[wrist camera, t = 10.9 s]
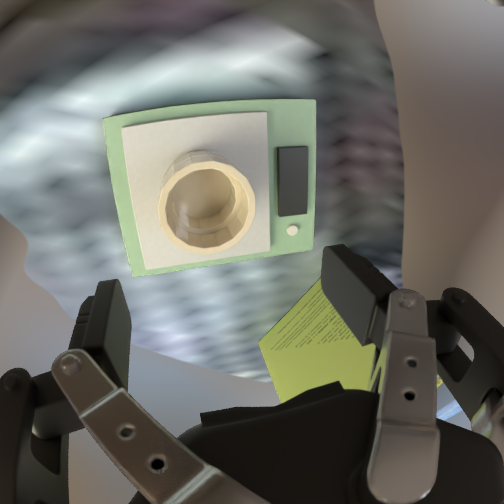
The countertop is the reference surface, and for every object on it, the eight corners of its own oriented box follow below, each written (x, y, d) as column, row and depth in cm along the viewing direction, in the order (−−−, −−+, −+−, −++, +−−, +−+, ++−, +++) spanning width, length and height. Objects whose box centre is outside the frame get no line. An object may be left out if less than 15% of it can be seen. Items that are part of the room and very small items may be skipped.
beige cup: (155, 155, 22) (151, 168, 17) (237, 145, 23) (253, 156, 18) (166, 231, 24) (166, 260, 20) (242, 220, 26) (257, 246, 21)
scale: (108, 116, 22) (100, 118, 19) (304, 99, 25) (320, 99, 22) (134, 264, 28) (131, 282, 26) (303, 239, 32) (316, 253, 29)
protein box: (255, 343, 37) (297, 453, 23) (344, 248, 34) (433, 337, 20) (309, 366, 42) (355, 455, 28) (387, 288, 38) (461, 365, 25)
